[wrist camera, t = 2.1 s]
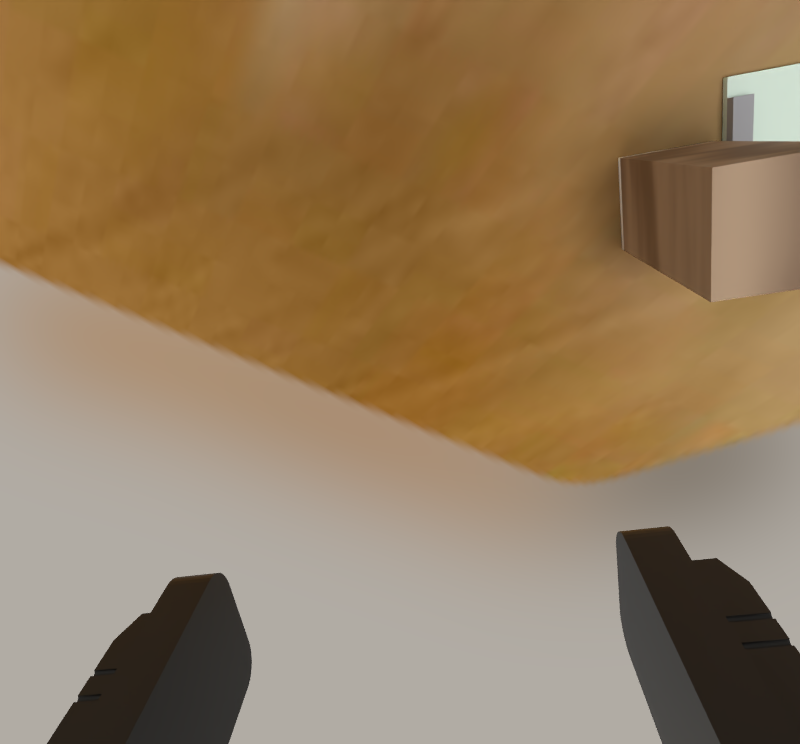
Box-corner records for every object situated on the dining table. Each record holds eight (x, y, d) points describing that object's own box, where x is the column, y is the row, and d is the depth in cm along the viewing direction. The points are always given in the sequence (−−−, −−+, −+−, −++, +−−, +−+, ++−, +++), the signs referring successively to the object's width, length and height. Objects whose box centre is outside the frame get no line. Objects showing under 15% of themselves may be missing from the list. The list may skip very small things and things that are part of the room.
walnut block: (621, 249, 34) (710, 302, 23) (618, 157, 32) (712, 167, 21) (713, 234, 34) (849, 281, 22) (714, 140, 32) (862, 141, 21)
